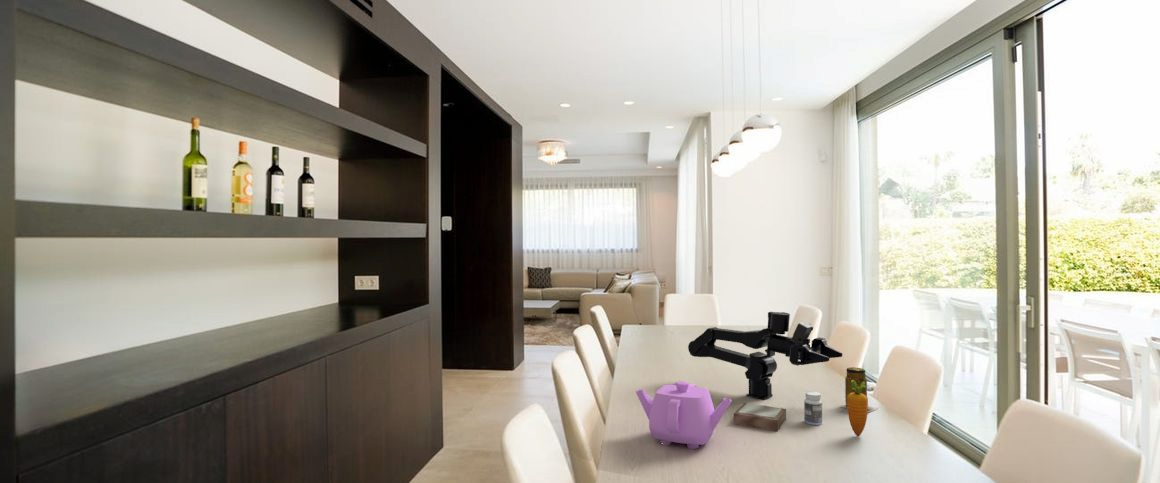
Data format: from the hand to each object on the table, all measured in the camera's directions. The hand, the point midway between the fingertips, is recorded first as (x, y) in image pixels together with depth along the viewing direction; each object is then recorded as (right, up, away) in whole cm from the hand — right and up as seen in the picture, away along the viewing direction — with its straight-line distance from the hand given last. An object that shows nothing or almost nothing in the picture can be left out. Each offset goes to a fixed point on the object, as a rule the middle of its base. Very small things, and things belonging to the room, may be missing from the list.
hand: (835, 357), depth 161 cm
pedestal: (-25, -17, -7) cm, 31 cm away
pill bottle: (-10, -17, -8) cm, 22 cm away
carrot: (-4, -17, -20) cm, 26 cm away
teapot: (-50, -17, -21) cm, 57 cm away
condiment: (+10, -17, +5) cm, 20 cm away
